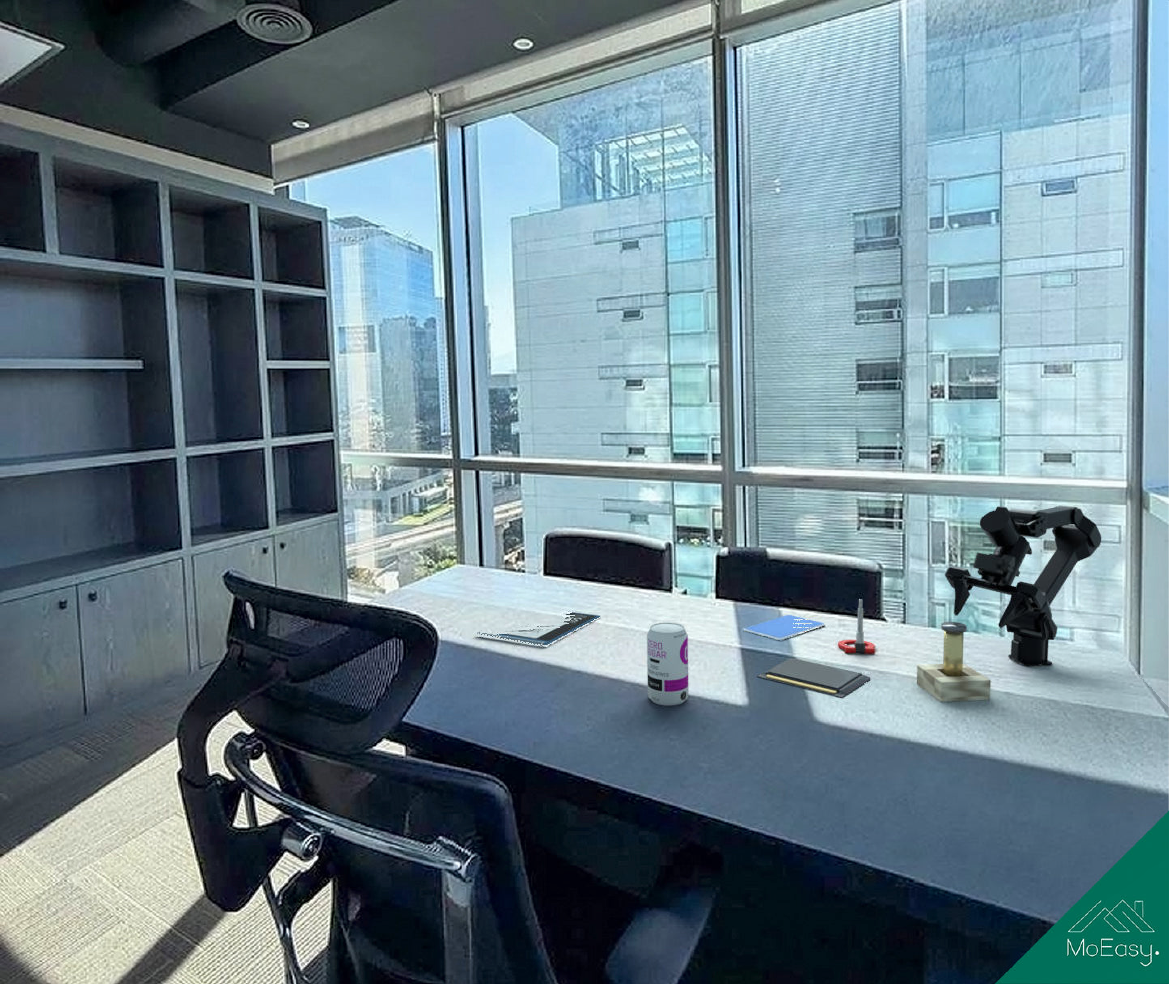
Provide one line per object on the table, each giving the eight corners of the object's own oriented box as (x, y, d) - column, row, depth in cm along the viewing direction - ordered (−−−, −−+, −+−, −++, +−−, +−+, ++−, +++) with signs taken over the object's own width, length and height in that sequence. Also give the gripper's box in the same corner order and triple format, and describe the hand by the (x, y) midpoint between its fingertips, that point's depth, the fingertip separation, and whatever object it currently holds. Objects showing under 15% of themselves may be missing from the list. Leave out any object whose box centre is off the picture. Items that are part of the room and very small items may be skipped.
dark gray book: (874, 673, 168) (841, 693, 158) (873, 681, 169) (841, 702, 158) (790, 653, 182) (754, 671, 171) (789, 661, 182) (754, 679, 172)
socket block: (962, 681, 166) (963, 663, 165) (989, 699, 156) (990, 680, 155) (916, 683, 165) (917, 665, 165) (940, 701, 155) (941, 682, 155)
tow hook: (835, 643, 194) (841, 654, 185) (836, 592, 193) (842, 600, 184) (870, 644, 193) (879, 655, 184) (871, 592, 192) (880, 600, 183)
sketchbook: (600, 620, 220) (600, 613, 220) (544, 651, 194) (544, 643, 194) (535, 611, 230) (535, 604, 230) (473, 640, 204) (473, 632, 204)
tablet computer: (780, 643, 195) (780, 638, 195) (741, 632, 205) (741, 627, 205) (827, 628, 207) (827, 623, 207) (788, 618, 217) (788, 613, 217)
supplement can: (691, 693, 163) (691, 623, 161) (683, 708, 155) (682, 635, 153) (653, 689, 165) (652, 620, 164) (643, 704, 158) (642, 632, 156)
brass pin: (965, 685, 161) (967, 623, 160) (964, 693, 157) (965, 629, 156) (941, 682, 163) (942, 620, 162) (939, 689, 159) (940, 626, 158)
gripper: (952, 529, 170) (921, 589, 166) (1044, 547, 156) (1013, 613, 151) (967, 558, 176) (938, 616, 172) (1057, 577, 162) (1028, 641, 158)
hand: (977, 620), depth 163 cm, fingers open, 9 cm apart
